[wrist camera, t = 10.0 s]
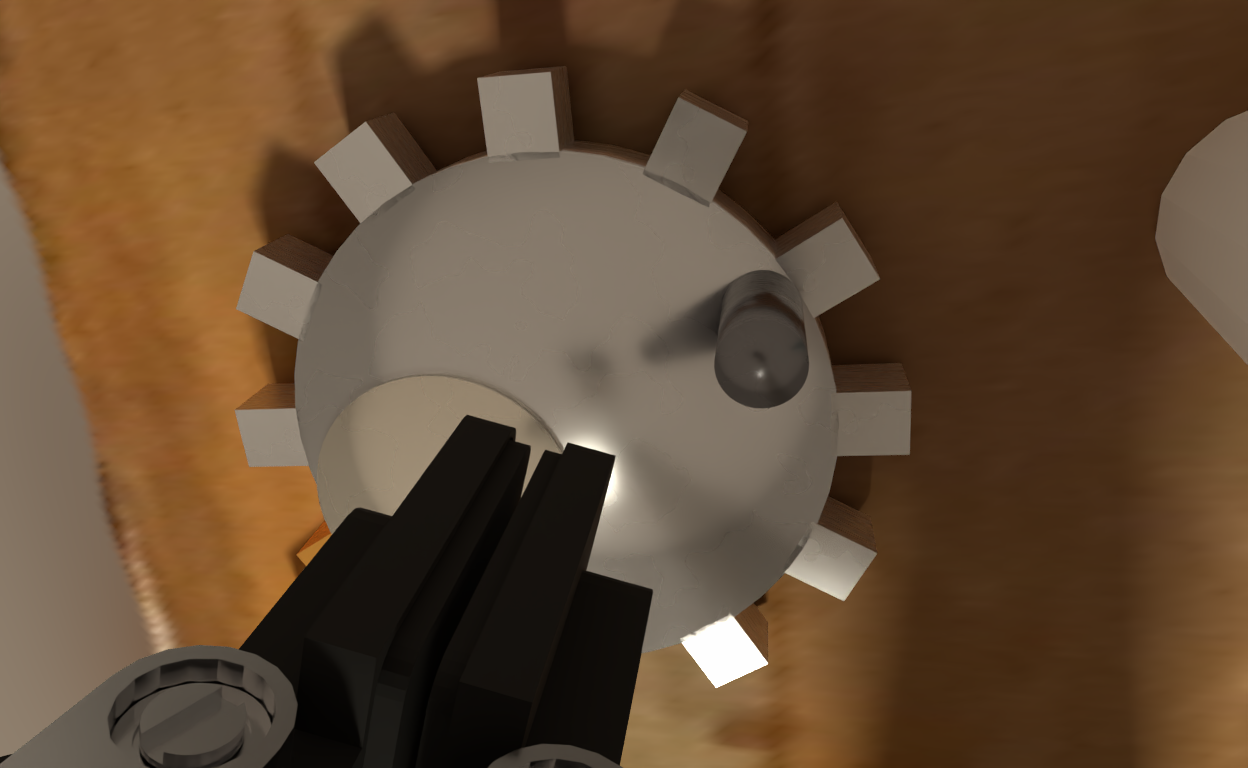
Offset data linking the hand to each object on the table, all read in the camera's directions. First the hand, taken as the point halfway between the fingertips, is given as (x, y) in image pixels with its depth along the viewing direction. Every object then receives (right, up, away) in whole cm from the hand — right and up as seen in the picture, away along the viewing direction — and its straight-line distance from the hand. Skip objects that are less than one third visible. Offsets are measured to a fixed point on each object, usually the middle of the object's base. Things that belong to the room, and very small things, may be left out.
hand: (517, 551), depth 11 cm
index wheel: (0, +1, +18) cm, 18 cm away
